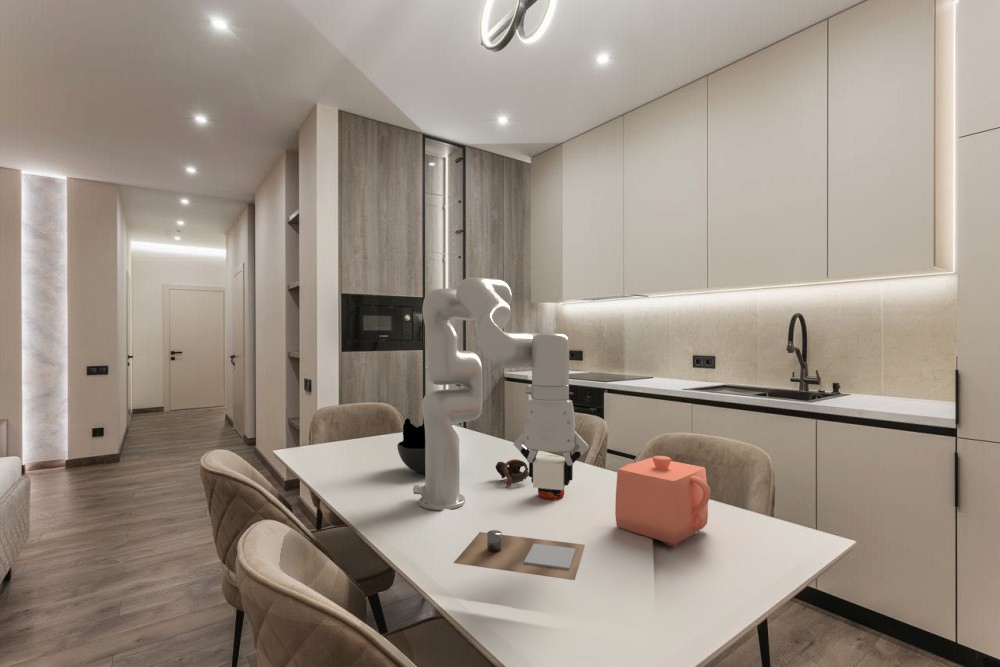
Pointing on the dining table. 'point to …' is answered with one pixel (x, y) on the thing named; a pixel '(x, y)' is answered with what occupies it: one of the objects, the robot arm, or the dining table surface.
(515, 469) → the pottery mug
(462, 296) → the robot arm
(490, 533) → the post
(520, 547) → the base board
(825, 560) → the dining table surface
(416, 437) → the coal bowl
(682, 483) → the teapot
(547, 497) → the canned food
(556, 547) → the pad
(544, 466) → the cream cube
